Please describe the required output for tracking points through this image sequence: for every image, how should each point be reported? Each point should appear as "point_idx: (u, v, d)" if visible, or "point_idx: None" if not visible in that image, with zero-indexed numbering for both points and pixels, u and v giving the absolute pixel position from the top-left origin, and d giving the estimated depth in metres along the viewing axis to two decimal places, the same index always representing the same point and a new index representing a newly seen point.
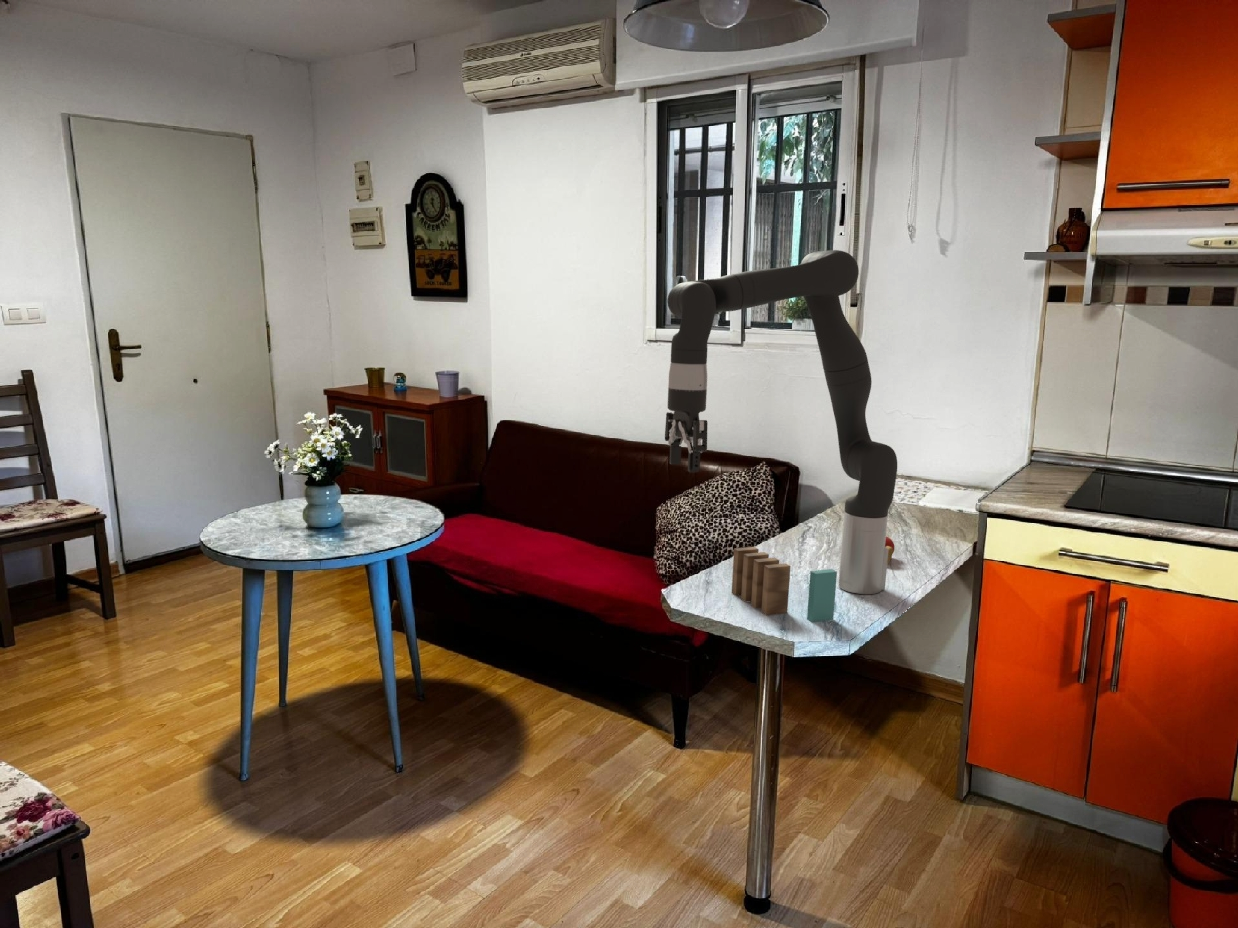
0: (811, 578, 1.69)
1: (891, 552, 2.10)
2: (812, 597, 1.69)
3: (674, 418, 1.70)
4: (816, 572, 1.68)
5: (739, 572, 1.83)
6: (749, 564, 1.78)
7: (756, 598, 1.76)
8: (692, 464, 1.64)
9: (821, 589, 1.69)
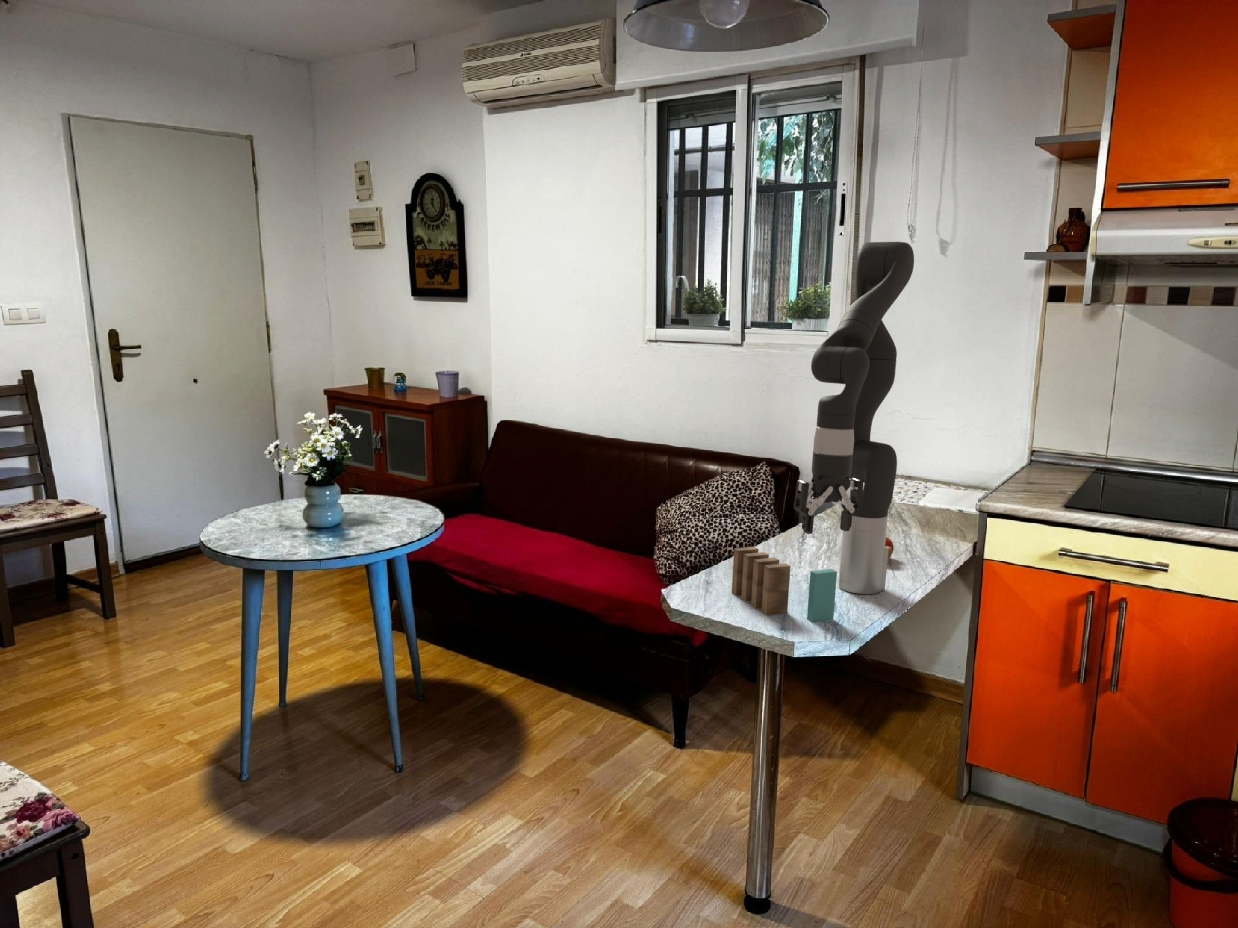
0: (811, 578, 1.69)
1: (890, 552, 2.10)
2: (812, 597, 1.69)
3: (820, 485, 1.64)
4: (816, 572, 1.68)
5: (739, 572, 1.83)
6: (749, 564, 1.78)
7: (756, 598, 1.76)
8: (850, 523, 1.69)
9: (821, 589, 1.69)
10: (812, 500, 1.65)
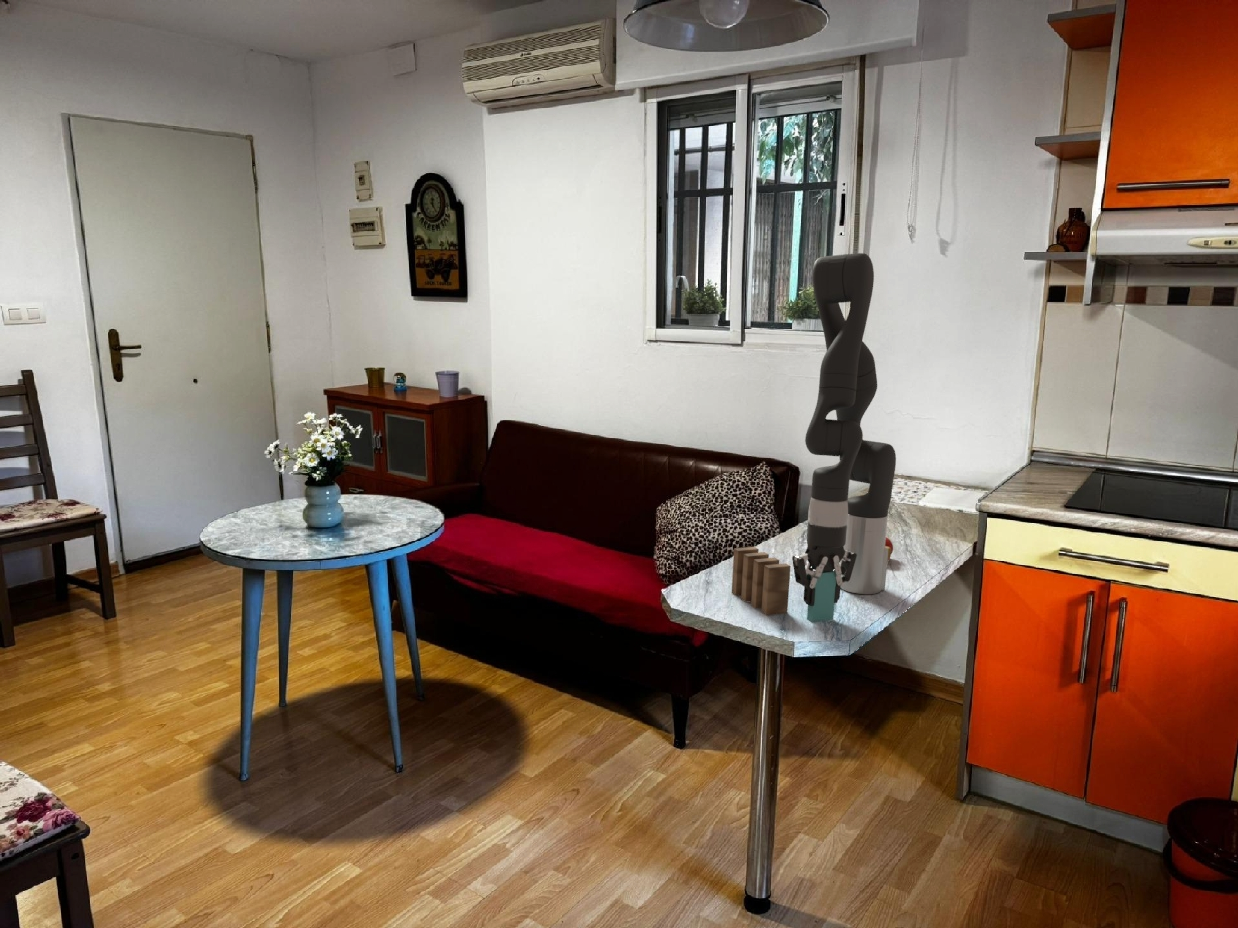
0: None
1: (890, 552, 2.10)
2: None
3: (815, 556, 1.66)
4: None
5: (739, 572, 1.83)
6: (749, 564, 1.78)
7: (756, 598, 1.76)
8: (838, 594, 1.71)
9: (821, 589, 1.69)
10: (811, 572, 1.68)
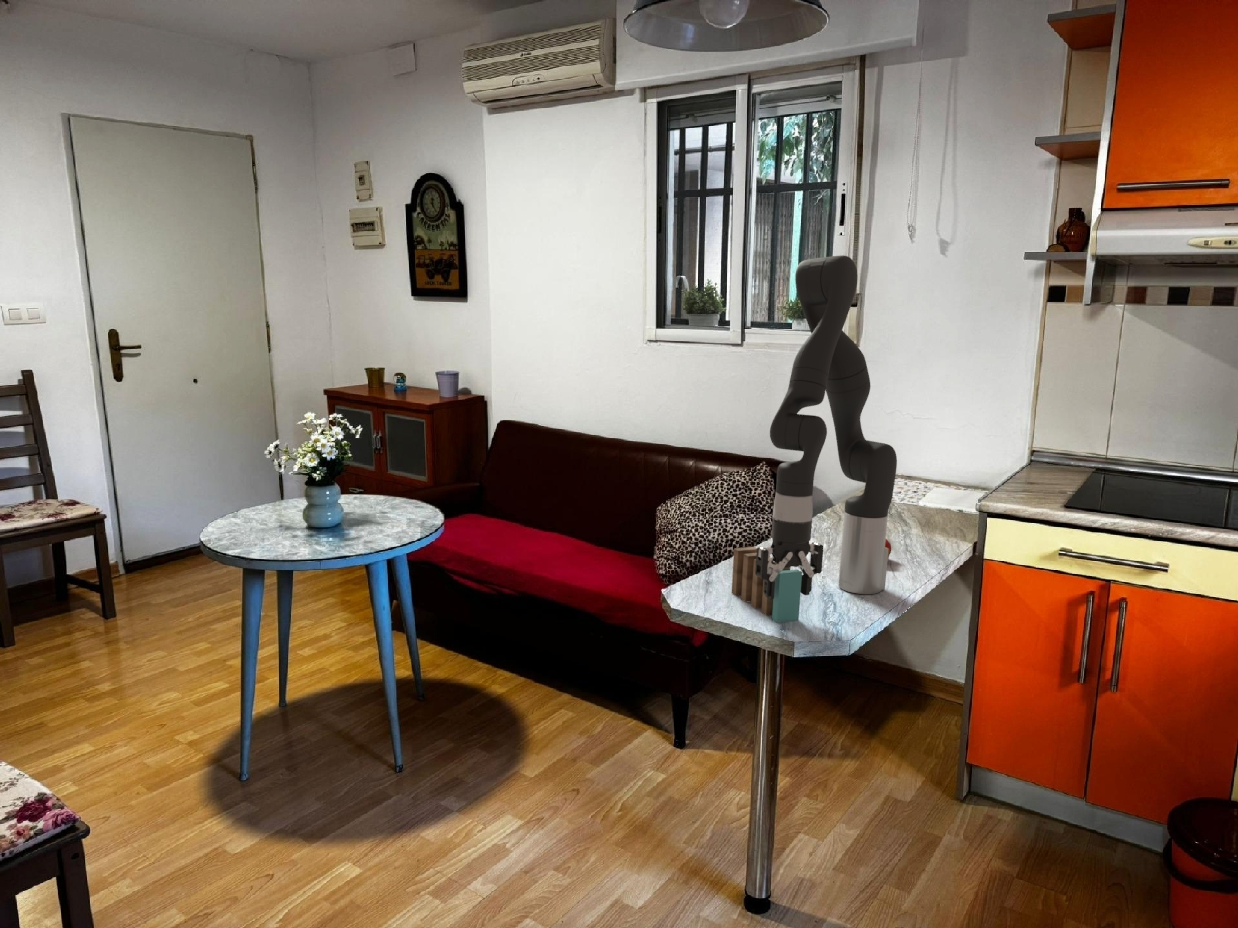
0: (776, 578, 1.68)
1: (888, 553, 2.09)
2: (777, 598, 1.68)
3: (779, 551, 1.65)
4: (781, 572, 1.67)
5: (739, 572, 1.83)
6: (749, 564, 1.78)
7: (756, 598, 1.76)
8: (810, 586, 1.70)
9: (785, 589, 1.68)
10: (773, 566, 1.66)
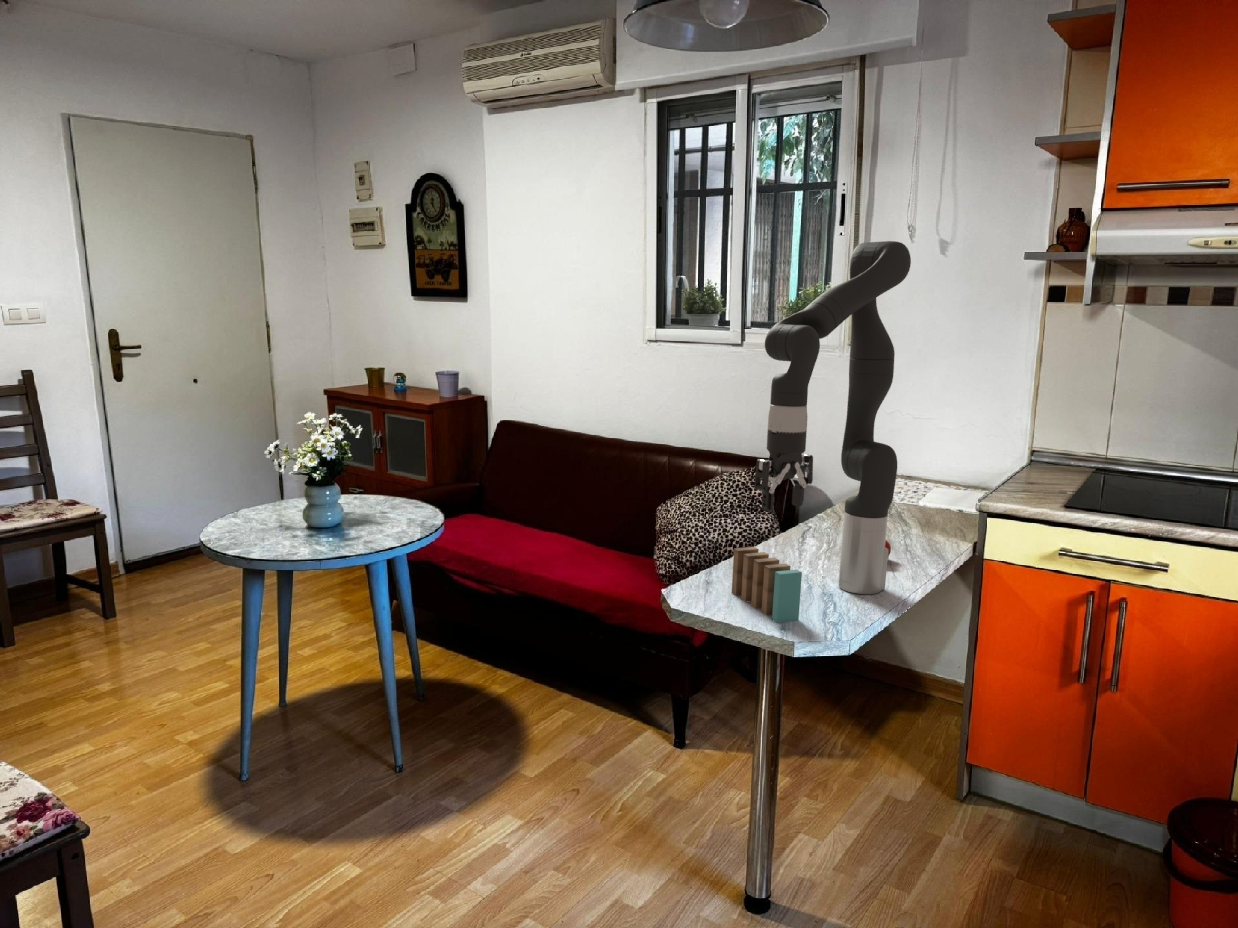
0: (776, 578, 1.68)
1: None
2: (777, 598, 1.68)
3: (778, 463, 1.65)
4: (781, 572, 1.67)
5: (739, 572, 1.83)
6: (749, 564, 1.78)
7: (756, 598, 1.76)
8: None
9: (785, 589, 1.68)
10: (771, 478, 1.66)
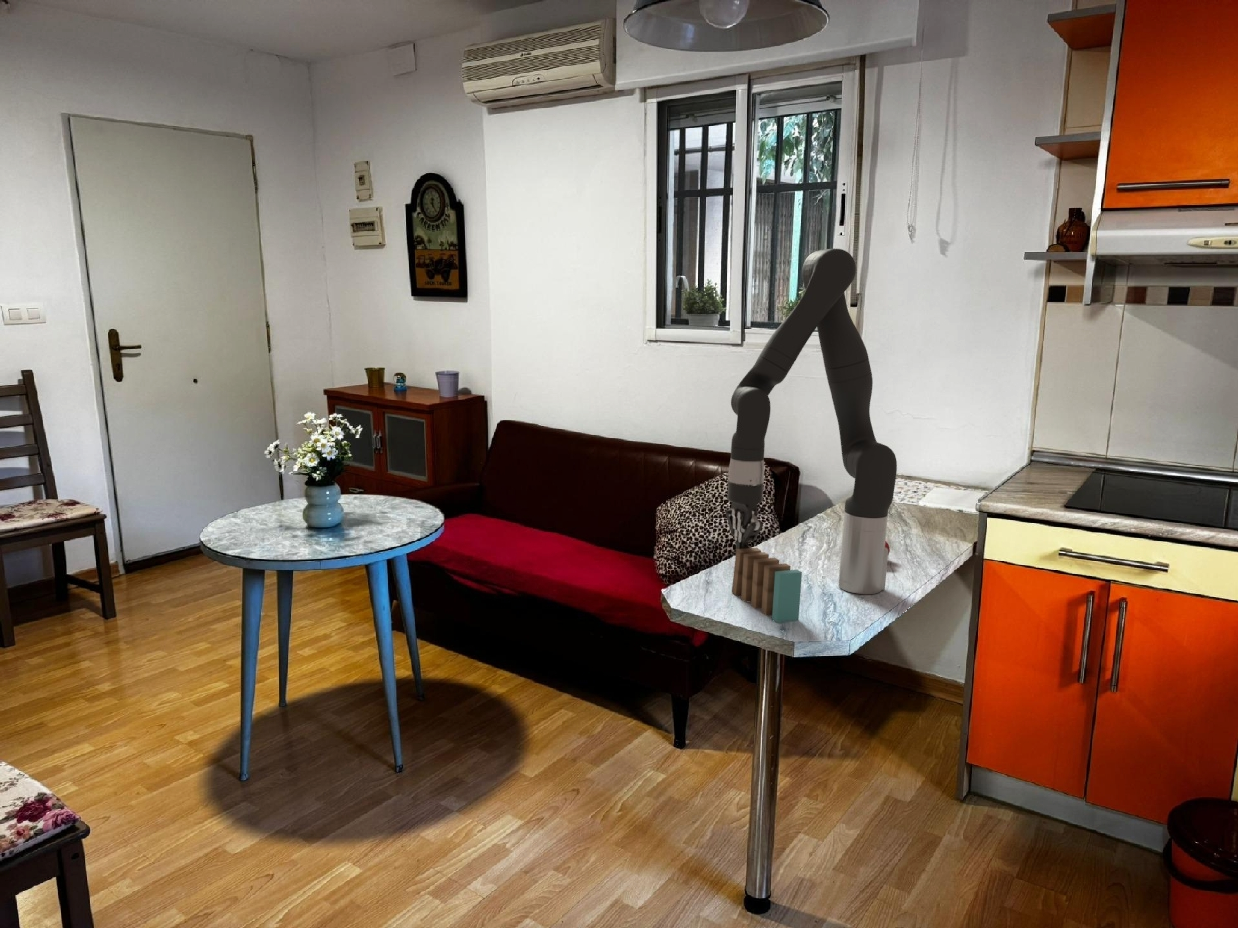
0: (776, 578, 1.68)
1: None
2: (777, 598, 1.68)
3: None
4: (781, 572, 1.67)
5: (740, 573, 1.82)
6: (749, 564, 1.78)
7: (756, 598, 1.76)
8: None
9: (785, 589, 1.68)
10: None
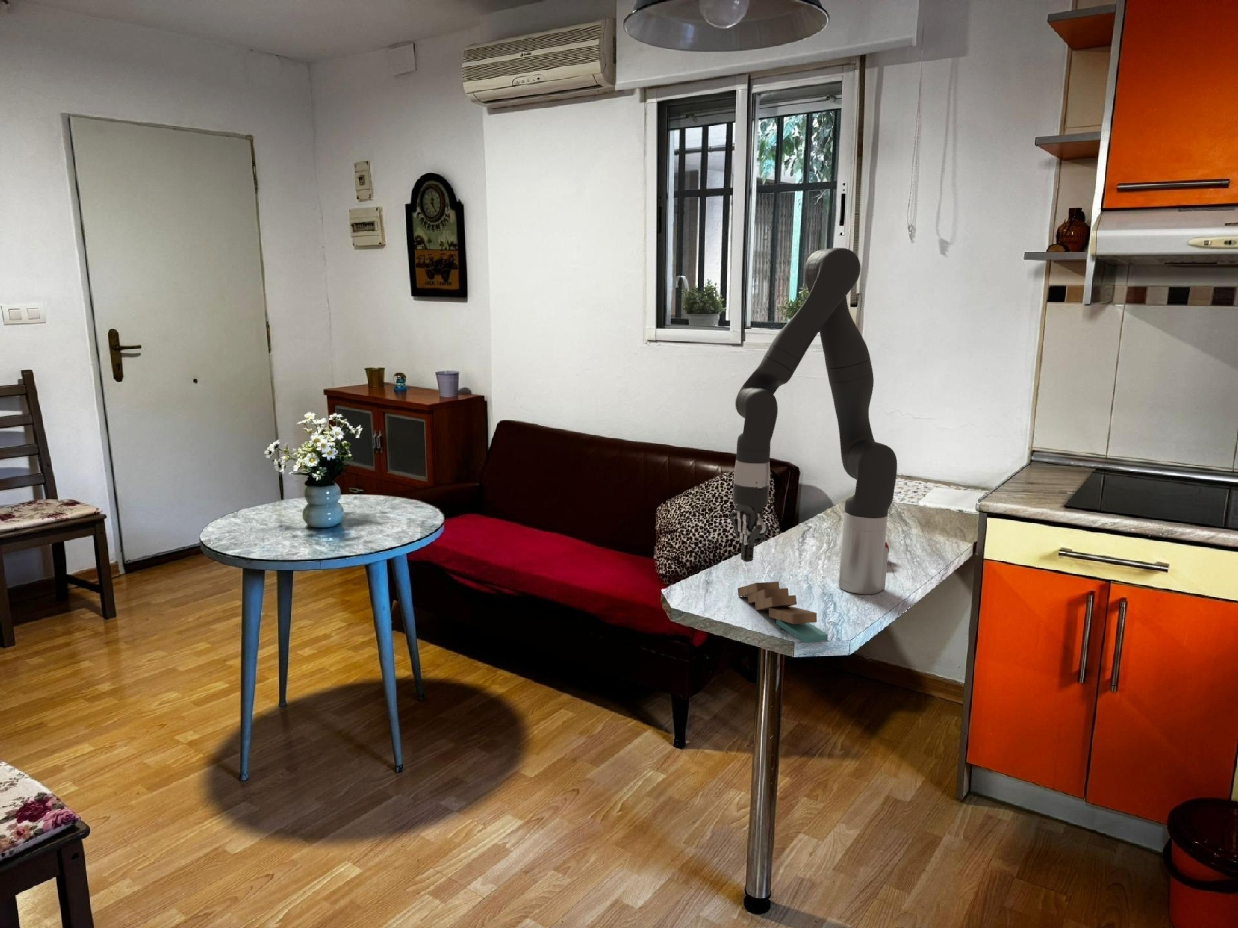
0: (800, 637, 1.60)
1: None
2: None
3: None
4: None
5: None
6: None
7: (759, 609, 1.73)
8: None
9: None
10: None
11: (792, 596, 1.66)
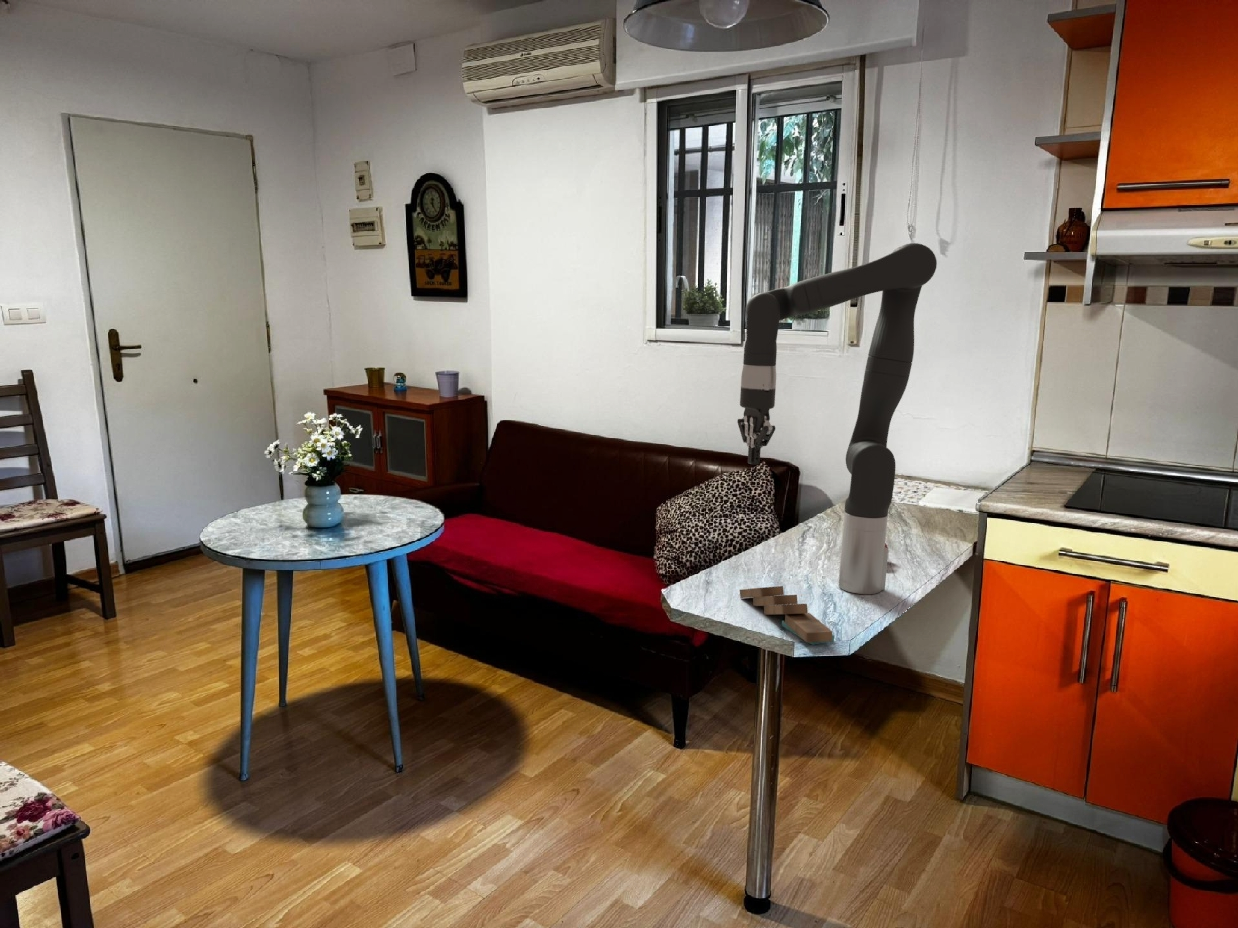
0: None
1: None
2: None
3: None
4: None
5: None
6: (772, 604, 1.69)
7: None
8: None
9: None
10: None
11: (803, 604, 1.64)
